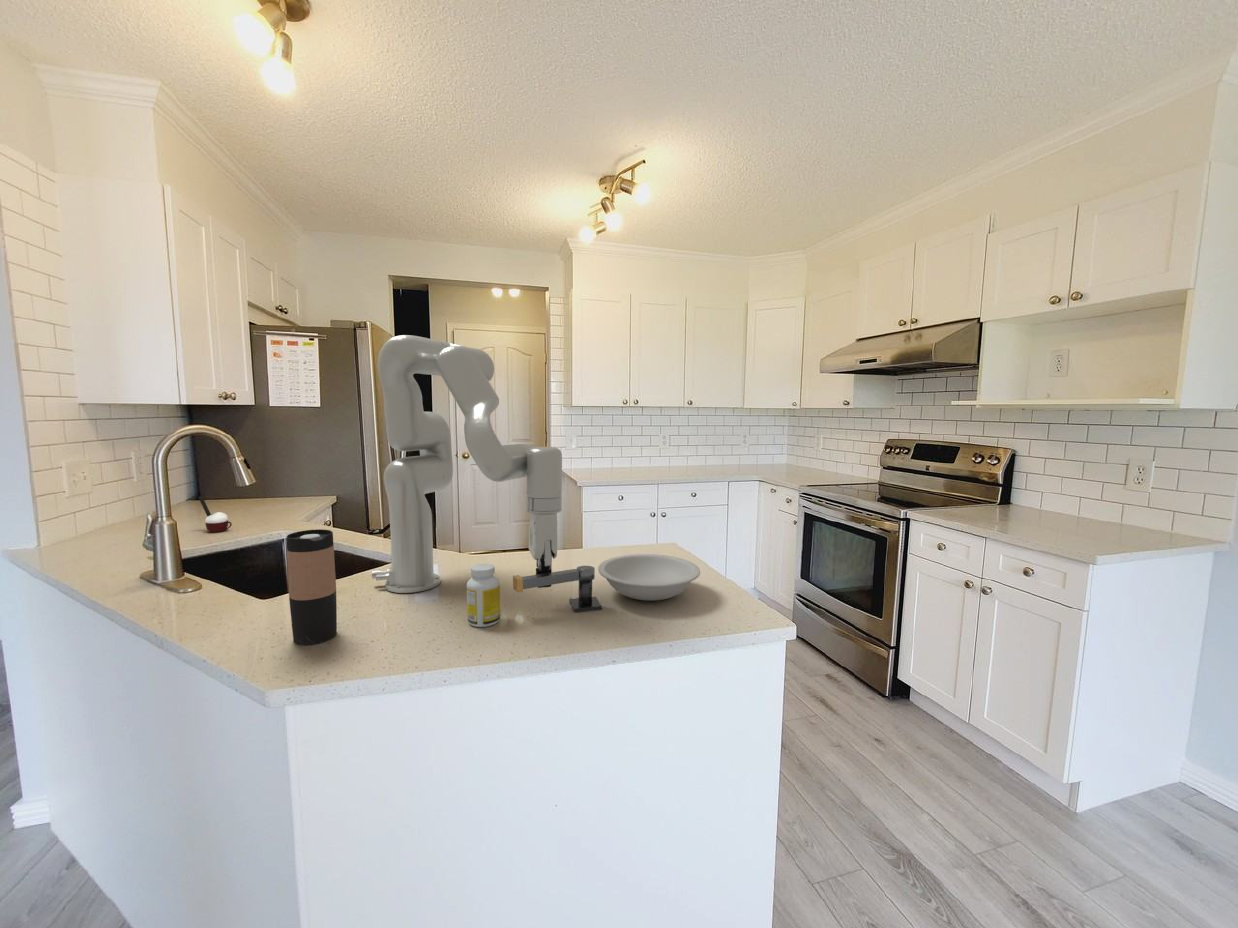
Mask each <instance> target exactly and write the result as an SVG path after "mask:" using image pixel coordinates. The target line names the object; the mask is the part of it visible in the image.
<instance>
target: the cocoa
mask: <svg viewBox="0 0 1238 928" xmlns="http://www.w3.org/2000/svg"><path fill="white" fill-rule="evenodd" d="M198 500H199V502H200V504H201V507H202V508H203V510H204V512H205V515H206V518H205V520H204V524H205V527H206V530H207V532H209V533H212V534H217V533H223V532H226V530H229V528H231V527H232V526H233V525H232V524H233V523H232V522H231V521H229V519H228V514H226V513H225V512H222V511H221V512H220V511H218V512H214V513H213V514H212V513H211V512H210V510H209V508H208V505H207V503H206V501H205V499H204V497H203V496H198Z"/></svg>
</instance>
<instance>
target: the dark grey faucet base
mask: <svg viewBox="0 0 1238 928" xmlns="http://www.w3.org/2000/svg"><path fill="white" fill-rule="evenodd" d="M569 604H570V606H571V608H572V610H573V611H574V613H581V612H591V611H592V612H593V611H599V610H602V608H603V606H602V605H601V602H600V601H599V600H598V598H597V597H596V596H593V580H591V581H580V580H578V597H576V598H574V597H573V598H569Z"/></svg>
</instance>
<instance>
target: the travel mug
mask: <svg viewBox="0 0 1238 928" xmlns="http://www.w3.org/2000/svg"><path fill="white" fill-rule="evenodd" d="M285 541H286V558H287V559H286V560H287V561H286V562H287V577H288V579H287V581H288V582H287V583H288V584H287V585H288V596H289V597H288V598H289V599H288V601H289V609H290V621H291V631H292V640H293V642H294V644H296V645H299V646H310V645H311V646H313V645H318V644H322V643H325V642H329V640H332V639H333V638H334V637H335V636H337V631H338V627H337V625H338V623H337V620H338V619H337V618H338V617H337V616H338V614H337V611H338V609H337V579H336V564H335V550H334V548H335V545H334V532H333V531H332V530H329V529H317V528H316V529H308V530H307V529H305V530H300V531H296V532H292V533H291V532H290V533H289V534H287V536H286V540H285Z"/></svg>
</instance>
